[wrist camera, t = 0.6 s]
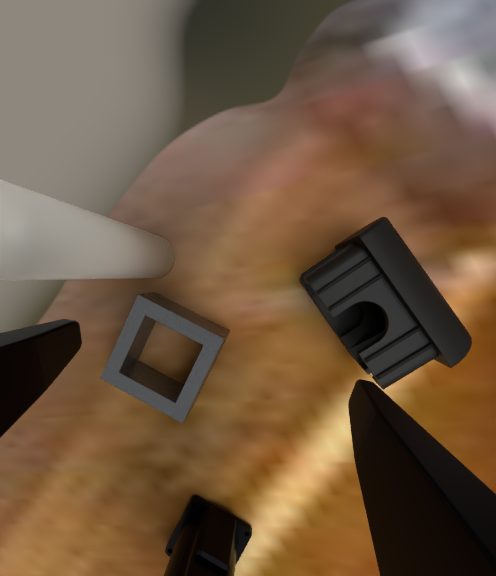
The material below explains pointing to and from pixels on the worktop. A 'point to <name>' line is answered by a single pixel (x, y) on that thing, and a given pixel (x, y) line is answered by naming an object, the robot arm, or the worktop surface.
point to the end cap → (385, 305)
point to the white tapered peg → (72, 242)
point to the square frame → (149, 382)
